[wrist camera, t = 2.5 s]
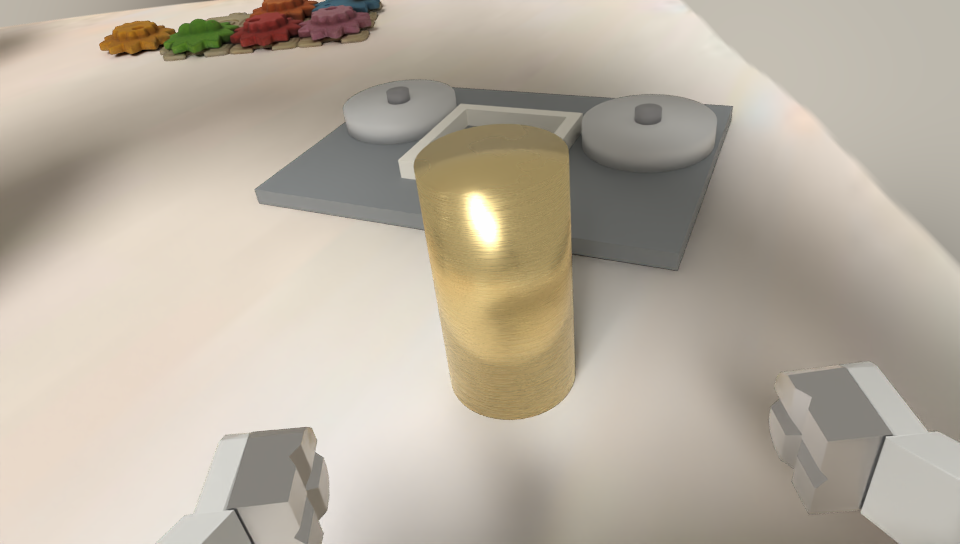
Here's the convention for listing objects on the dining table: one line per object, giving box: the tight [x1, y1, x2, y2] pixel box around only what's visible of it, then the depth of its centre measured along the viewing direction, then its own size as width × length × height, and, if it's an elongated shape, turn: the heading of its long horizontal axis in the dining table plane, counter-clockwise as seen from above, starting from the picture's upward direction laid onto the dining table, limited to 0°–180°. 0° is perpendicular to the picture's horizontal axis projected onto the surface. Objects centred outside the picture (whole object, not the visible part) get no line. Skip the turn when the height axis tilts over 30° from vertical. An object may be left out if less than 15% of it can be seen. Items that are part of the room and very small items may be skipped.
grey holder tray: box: [254, 80, 733, 270], centre depth 44 cm, size 26×18×3 cm
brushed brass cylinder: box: [414, 124, 575, 420], centre depth 26 cm, size 5×5×10 cm
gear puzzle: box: [99, 0, 382, 61], centre depth 76 cm, size 31×16×4 cm, turn 89°
